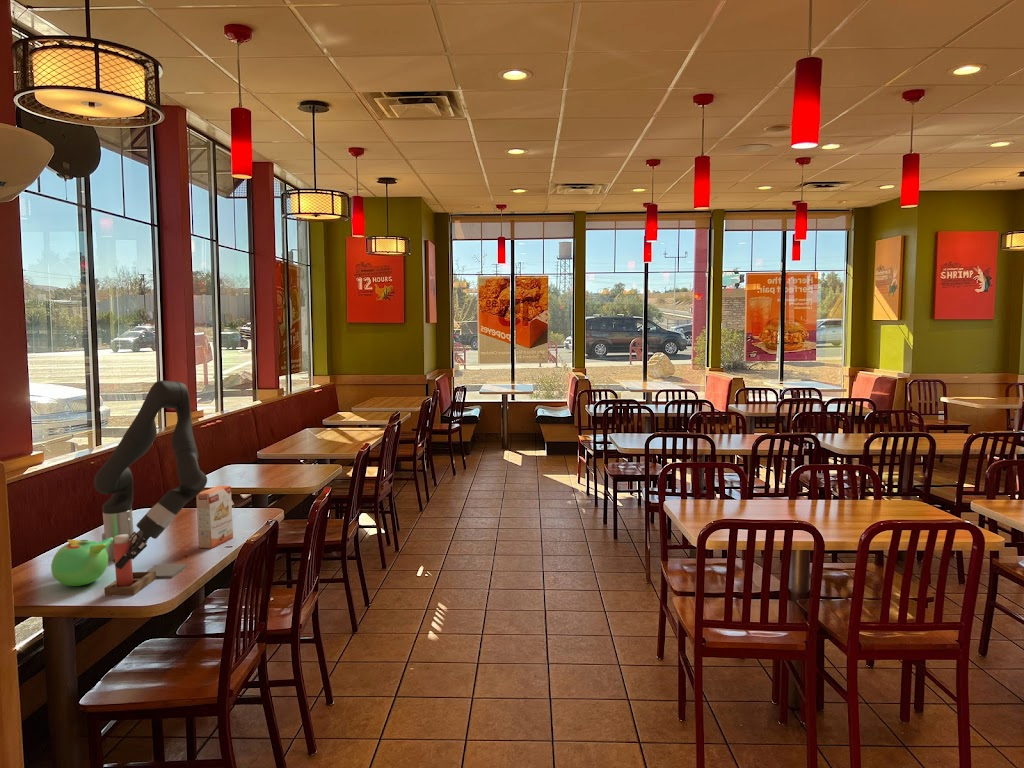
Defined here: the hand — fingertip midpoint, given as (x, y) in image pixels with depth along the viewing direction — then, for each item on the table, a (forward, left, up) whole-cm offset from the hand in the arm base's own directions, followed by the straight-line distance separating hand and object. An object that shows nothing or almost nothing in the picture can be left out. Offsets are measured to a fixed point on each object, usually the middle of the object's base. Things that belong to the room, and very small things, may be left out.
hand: (116, 565), depth 220 cm
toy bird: (-16, +9, -9) cm, 21 cm away
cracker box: (+11, +49, -9) cm, 51 cm away
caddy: (+2, +4, -9) cm, 10 cm away
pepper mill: (+1, +1, -8) cm, 8 cm away
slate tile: (+6, +17, -9) cm, 20 cm away
